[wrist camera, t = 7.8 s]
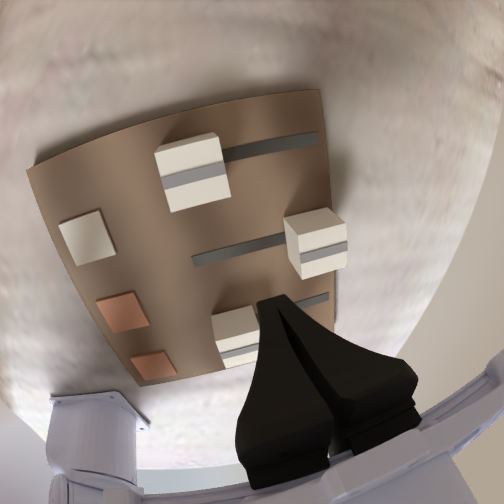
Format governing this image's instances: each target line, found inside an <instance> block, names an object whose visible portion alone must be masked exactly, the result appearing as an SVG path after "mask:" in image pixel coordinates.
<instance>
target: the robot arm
mask: <svg viewBox="0 0 504 504" xmlns="http://www.w3.org/2000/svg"><path fill="white" fill-rule="evenodd" d="M256 306H257V311H258V316H259V323H260V334H259V347H258V356H257V362H256V367H255V371H254V376H253V380H252V383H251V387H250V390H249V392H248V395H247V398H246V401H245V404H244V406H243V408H242V411H241V413H240V415H239V417H238V420H237V427H236V435H235V447H236V452H237V455H238V459H239V461H240V463H241V464H242V465H243V467H244V468H245V469H246V472H247V476H248V480H249V482H245V483H240V484H235V485H230V486H224V487H218V488H212V489H205V490H197V491H189V492H180V493H169V494H168V493H167V494H147V495H144V488H141V487H137V471H136V431H145V430H149V429H150V426H149V425H148V423H147V422H146V421H145V420H144V419H143V418H142V417H141V416H140V415H139V414H138V413H137V412H136V411H135V410H134V409H133V407H132V406H131V405H130V404H129V403H128V402H127V401H126V400H125V398H124V397H123V396H122V395H121V394H120V393H119V392H117V391H112V392H104V393H96V394H86V395H76V396H65V397H51V398H50V400H49V401H50V403H51V404H52V405H53V410H52V415H51V420H50V425H49V430H48V436H47V442H46V456H47V460H48V463H49V466H50V467H51V469H52V471H53V472H54V473H55V474H56V476H54V477H53V478H52V481H51V485H50V492H49V504H478V502H477V500H476V499H475V497H474V495H473V493H472V492H471V490H470V488H469V487H468V485H467V483H466V481H465V480H464V478H463V476H462V475H461V473H460V471H459V470H458V468H457V466H456V465H455V463H454V461H453V460H452V458H451V457H452V456H454V455H455V454H456V453H458V452H459V451H460V450H462V449H463V448H464V447H465V446H467V445H468V444H469V443H471V442H472V441H473V440H474V439H475V438H477V437H478V436H479V435H480V434H481V433H482V432H484V430H486V429H487V428H488V427H489V426H490V425H491V424H493V422H495V421H496V420H497V419H498V418H499V417H500V416H501V415H502V414H503V413H504V349H503V350H502V351H500V353H498V354H497V355H496V356H494V357H493V358H492V359H491V360H490V362H489V363H488V364H487V366H486V368H485V371H483V372H482V373H481V374H479V375H478V376H477V377H476V378H474V379H473V380H472V381H470V382H469V383H467V384H466V385H465V386H464V387H462V388H460V389H459V390H458V391H456V392H455V393H453V394H452V395H451V396H449V397H447V398H446V399H444V400H443V401H441V402H440V403H438V404H437V405H435V406H433V407H432V408H430V409H429V410H427V411H425V412H424V413H422V414H420V415H419V414H418V412H417V411H416V409H415V407H414V406H415V401H414V400H413V399H412V395H413V393H414V391H415V389H416V386H417V383H418V376H417V375H416V373H415V372H414V371H413V369H412V368H411V367H410V366H409V365H408V364H407V363H406V362H405V361H404V360H402V359H398V358H394V357H389V356H385V355H382V354H379V353H376V352H373V351H370V350H368V349H365V348H363V347H360V346H358V345H356V344H353V343H351V342H349V341H347V340H345V339H344V338H342V337H340V336H338V335H336V334H335V333H333V332H331V331H330V330H328V329H327V328H325V327H324V326H322V325H321V324H320V323H318V322H317V321H315V320H314V319H313V318H312V317H310V316H309V315H308V314H307V313H305V312H304V311H303V310H302V309H301V308H300V307H298V306H297V305H296V304H295V303H294V302H293V301H292V300H291V299H290V298H289V297H288V296H287V295H285V294H282V295H278V296H275V297H271V298H268V299H264V300H261V301H258V302H257V303H256ZM328 453H329V456H330V458H328V457H327V456H328Z"/></svg>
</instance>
